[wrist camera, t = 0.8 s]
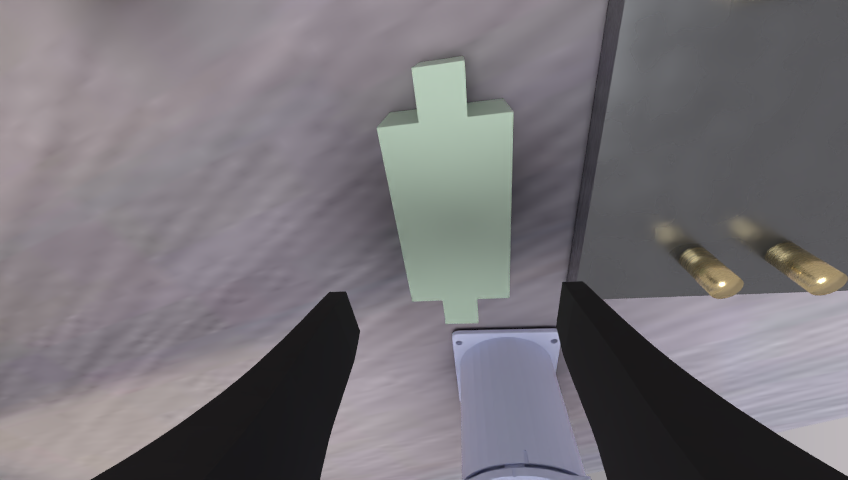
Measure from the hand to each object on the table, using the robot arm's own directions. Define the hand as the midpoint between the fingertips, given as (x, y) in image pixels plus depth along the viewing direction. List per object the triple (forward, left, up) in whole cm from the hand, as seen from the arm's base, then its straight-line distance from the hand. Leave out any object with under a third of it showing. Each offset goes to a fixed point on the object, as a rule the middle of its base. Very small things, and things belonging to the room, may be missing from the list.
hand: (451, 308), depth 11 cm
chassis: (+2, -15, -9) cm, 18 cm away
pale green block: (0, 0, -9) cm, 9 cm away
